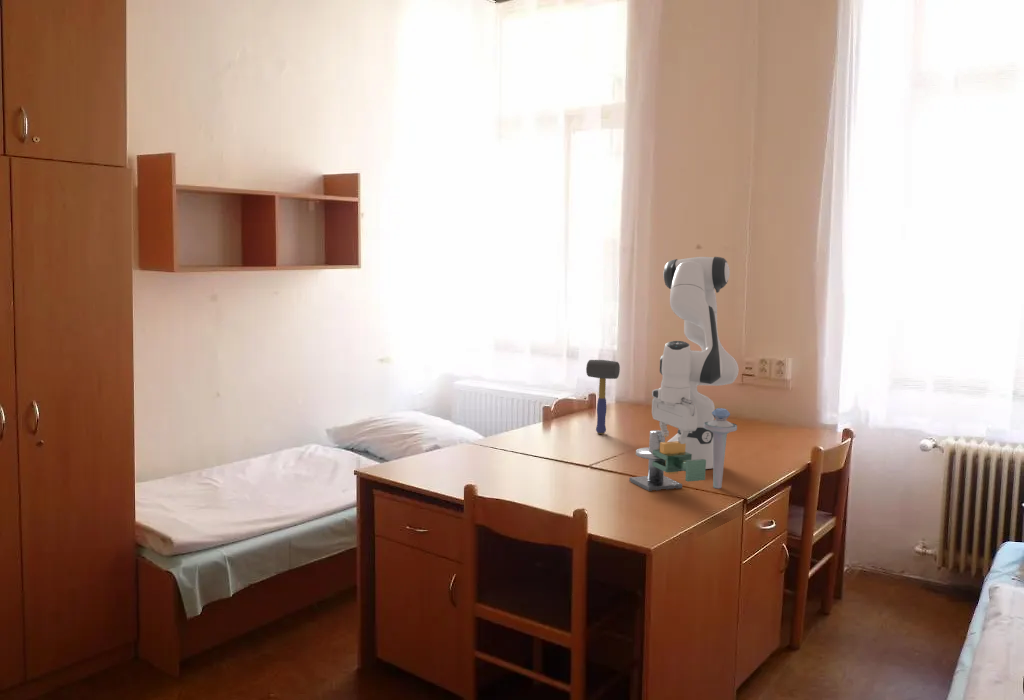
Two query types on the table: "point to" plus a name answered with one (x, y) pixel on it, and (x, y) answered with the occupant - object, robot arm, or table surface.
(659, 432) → the bracket post
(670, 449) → the yellow t-shaped block
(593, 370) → the rubber mallet
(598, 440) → the table surface
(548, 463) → the table surface
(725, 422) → the novelty light stick
